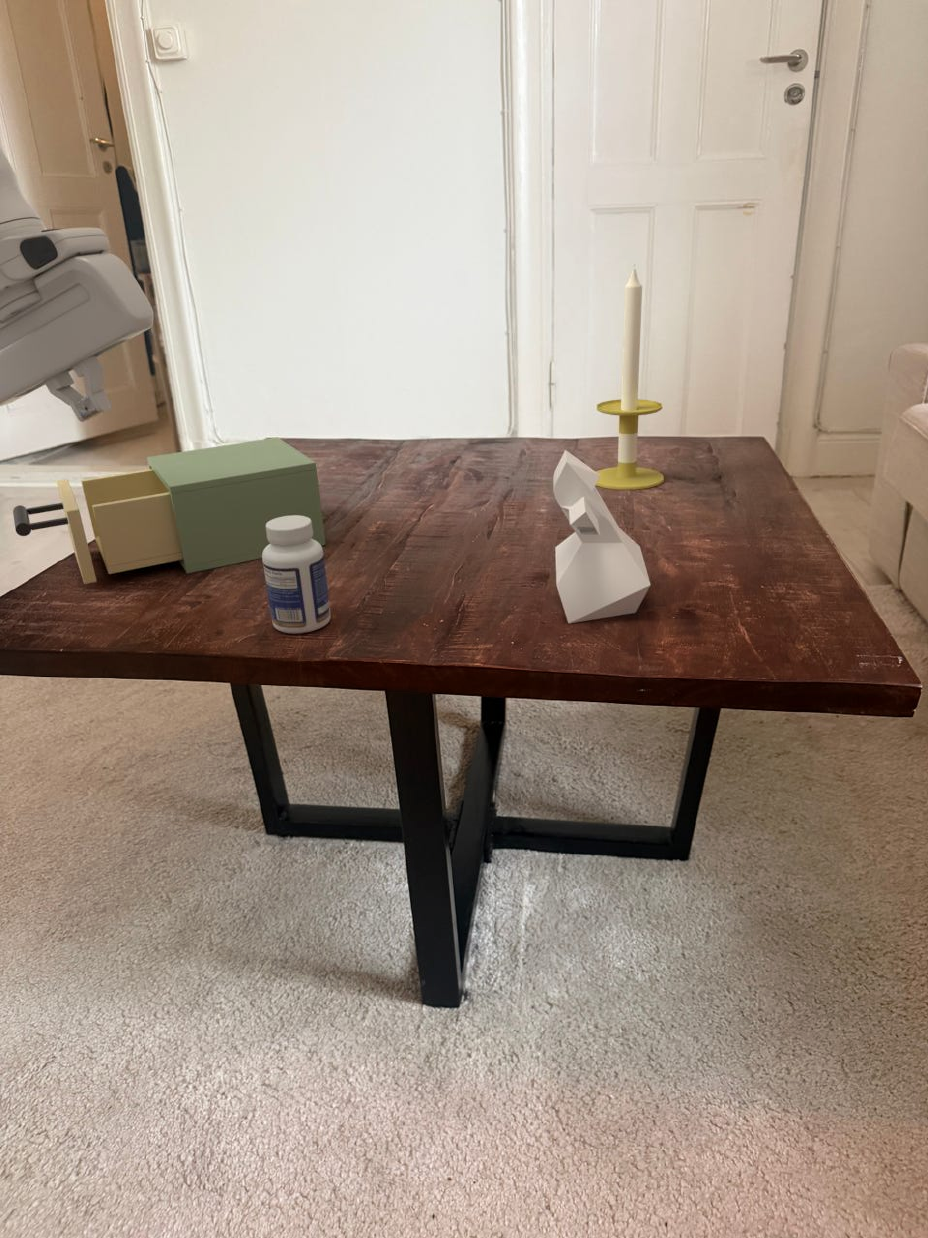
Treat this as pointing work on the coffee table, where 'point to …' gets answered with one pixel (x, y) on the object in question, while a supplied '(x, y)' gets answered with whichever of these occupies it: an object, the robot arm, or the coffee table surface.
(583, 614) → the faceted knight figurine
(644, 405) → the candle
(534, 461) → the coffee table surface
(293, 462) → the cabinet
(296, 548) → the pill bottle
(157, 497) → the drawer
